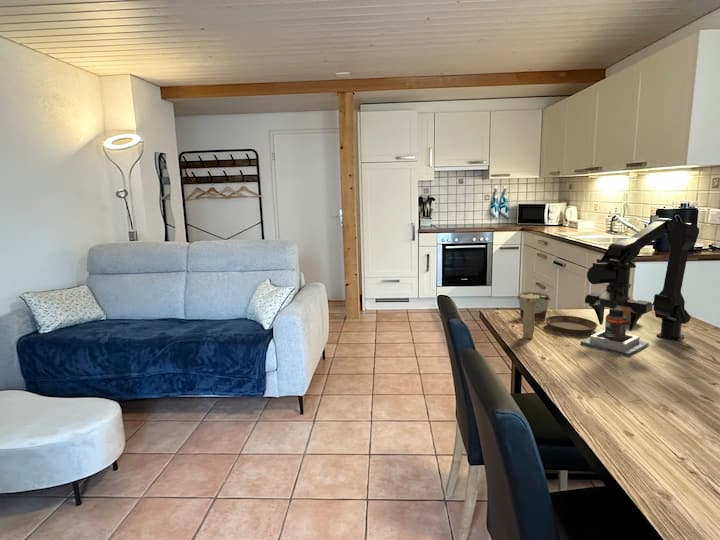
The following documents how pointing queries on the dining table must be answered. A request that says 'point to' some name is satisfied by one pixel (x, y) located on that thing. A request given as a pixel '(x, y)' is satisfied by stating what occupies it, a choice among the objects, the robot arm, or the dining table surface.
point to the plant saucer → (571, 325)
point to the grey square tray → (615, 344)
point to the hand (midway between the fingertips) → (615, 327)
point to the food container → (536, 305)
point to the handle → (529, 314)
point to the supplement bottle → (615, 325)
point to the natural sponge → (627, 311)
